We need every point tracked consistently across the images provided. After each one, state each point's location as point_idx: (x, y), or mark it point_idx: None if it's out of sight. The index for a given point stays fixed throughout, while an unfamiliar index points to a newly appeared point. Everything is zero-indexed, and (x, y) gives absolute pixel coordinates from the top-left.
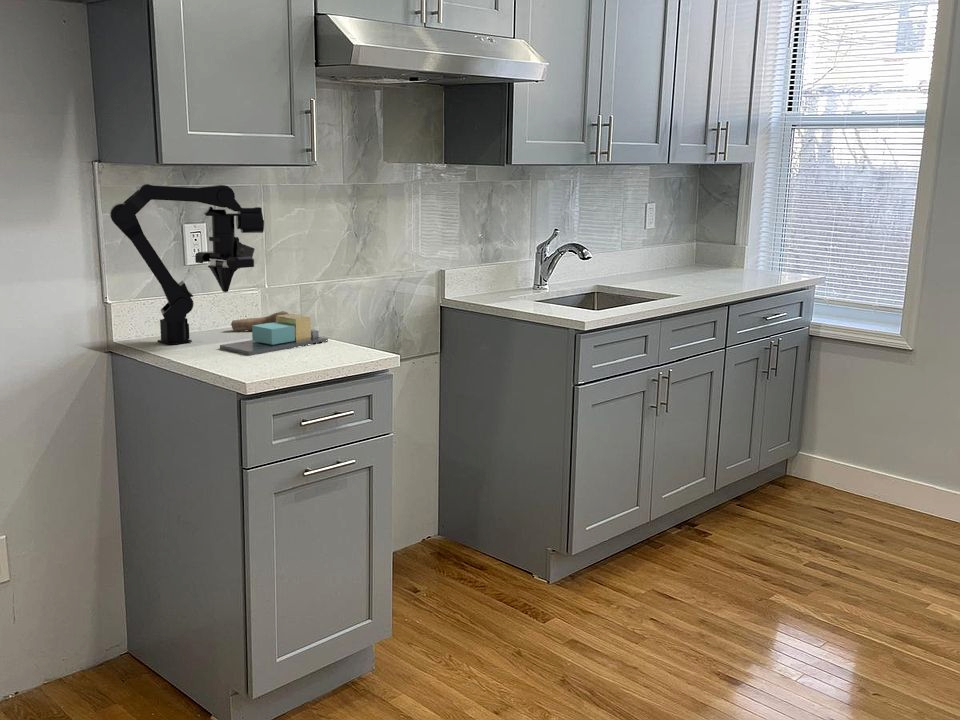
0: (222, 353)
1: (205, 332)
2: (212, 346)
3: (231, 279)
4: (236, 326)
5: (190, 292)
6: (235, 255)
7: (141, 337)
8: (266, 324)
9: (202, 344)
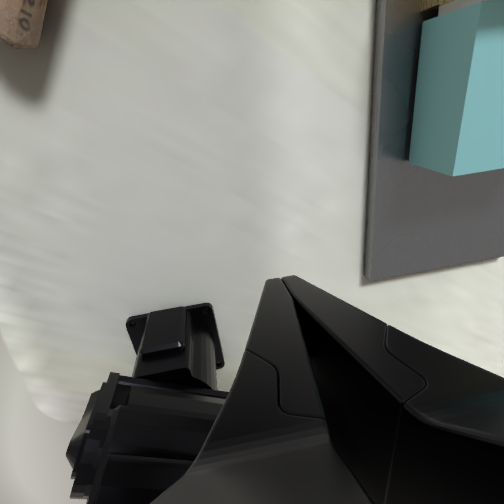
0: (419, 293)
1: (2, 175)
2: (312, 275)
3: (395, 330)
4: (38, 22)
5: (121, 464)
6: None
7: (30, 389)
8: (490, 97)
9: (262, 287)
